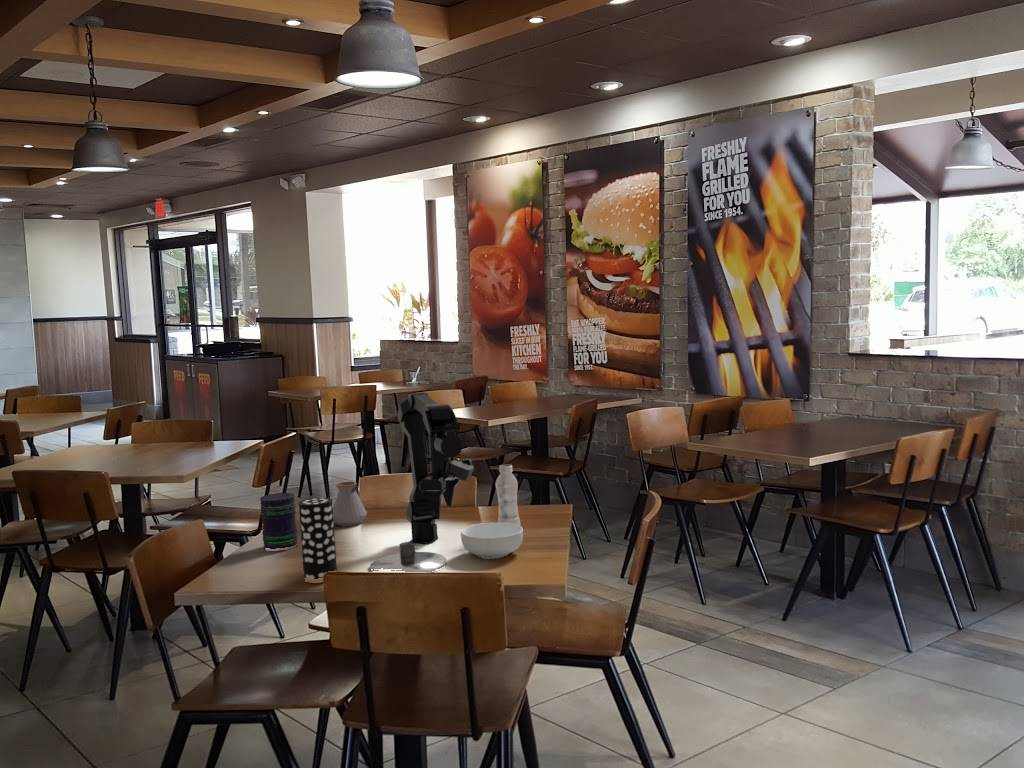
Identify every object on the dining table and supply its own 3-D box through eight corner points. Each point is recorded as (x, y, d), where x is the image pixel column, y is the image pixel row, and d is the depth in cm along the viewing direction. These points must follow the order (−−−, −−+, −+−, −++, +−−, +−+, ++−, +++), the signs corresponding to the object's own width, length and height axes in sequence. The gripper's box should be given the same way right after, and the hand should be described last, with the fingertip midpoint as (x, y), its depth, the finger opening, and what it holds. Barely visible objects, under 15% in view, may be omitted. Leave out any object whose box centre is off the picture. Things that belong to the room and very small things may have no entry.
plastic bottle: (518, 535, 265) (515, 467, 263) (495, 535, 266) (492, 467, 265) (522, 529, 271) (519, 463, 269) (500, 529, 273) (497, 463, 271)
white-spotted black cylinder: (305, 585, 227) (299, 506, 225) (303, 576, 235) (297, 499, 233) (339, 581, 229) (333, 502, 228) (335, 572, 237) (330, 496, 236)
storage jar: (269, 553, 259) (265, 501, 257) (259, 546, 267) (255, 496, 266) (303, 547, 264) (299, 496, 263) (292, 540, 272) (288, 491, 271)
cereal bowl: (504, 566, 235) (503, 539, 234) (450, 560, 243) (448, 534, 242) (535, 549, 249) (533, 524, 249) (482, 544, 258) (481, 519, 257)
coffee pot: (327, 522, 294) (324, 476, 292) (362, 517, 298) (359, 472, 297) (342, 536, 274) (339, 487, 273) (379, 531, 279) (376, 482, 277)
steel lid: (356, 577, 234) (354, 553, 233) (390, 554, 252) (389, 532, 252) (428, 580, 227) (427, 556, 227) (458, 557, 246) (456, 534, 246)
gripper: (457, 458, 231) (461, 519, 233) (479, 446, 249) (482, 502, 250) (416, 458, 234) (420, 518, 236) (441, 446, 252) (444, 502, 253)
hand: (443, 510), depth 244 cm, fingers open, 9 cm apart
